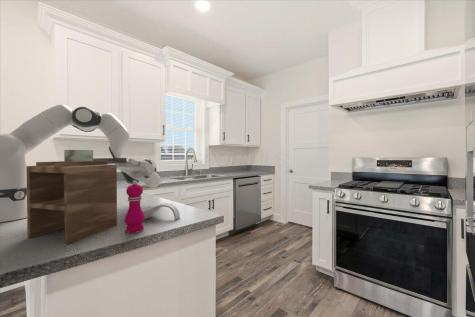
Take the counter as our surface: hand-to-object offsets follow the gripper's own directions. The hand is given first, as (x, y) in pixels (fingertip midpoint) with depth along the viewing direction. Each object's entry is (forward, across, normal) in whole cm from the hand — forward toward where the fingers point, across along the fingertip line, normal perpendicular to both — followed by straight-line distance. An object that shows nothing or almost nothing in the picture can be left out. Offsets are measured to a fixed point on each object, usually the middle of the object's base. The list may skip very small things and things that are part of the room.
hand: (123, 159), depth 107 cm
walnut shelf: (+7, 0, +36) cm, 36 cm away
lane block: (+10, 0, +8) cm, 13 cm away
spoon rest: (-15, +18, +24) cm, 33 cm away
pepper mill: (0, +21, +32) cm, 38 cm away
